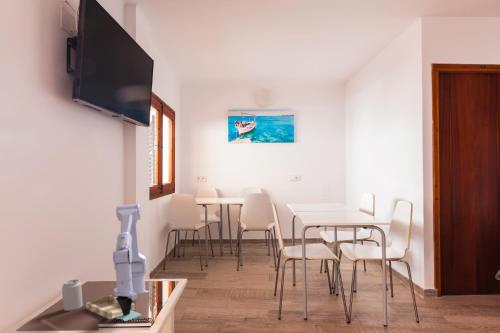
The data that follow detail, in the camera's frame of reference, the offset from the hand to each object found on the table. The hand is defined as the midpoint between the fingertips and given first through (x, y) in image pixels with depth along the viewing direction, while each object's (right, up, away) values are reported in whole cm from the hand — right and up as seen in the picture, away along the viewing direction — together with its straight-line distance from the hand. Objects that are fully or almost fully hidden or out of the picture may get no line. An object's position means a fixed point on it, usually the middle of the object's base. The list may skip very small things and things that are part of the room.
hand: (126, 314), depth 139 cm
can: (-28, -4, +14) cm, 31 cm away
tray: (-10, -2, +9) cm, 13 cm away
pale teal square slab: (+1, -2, -1) cm, 2 cm away
